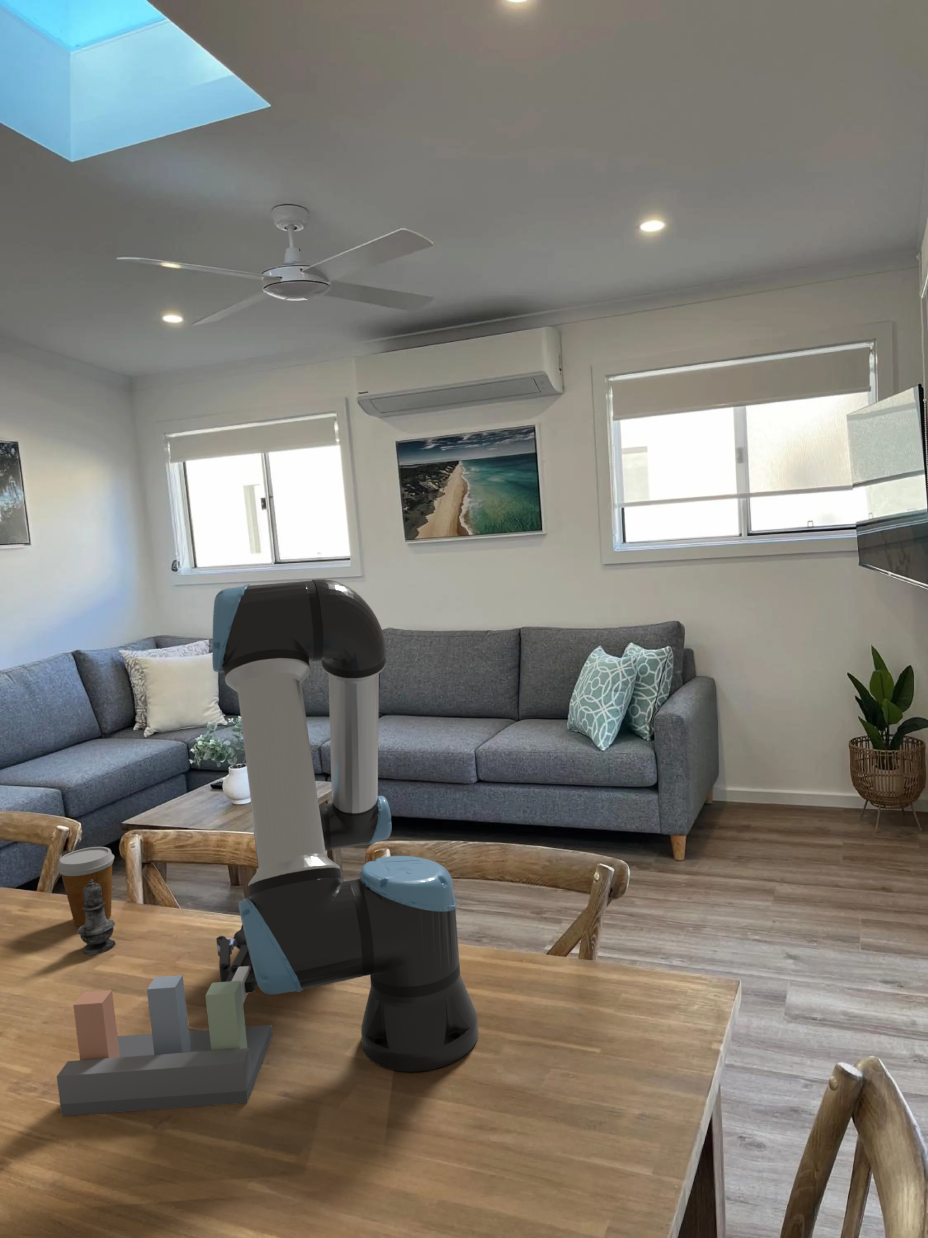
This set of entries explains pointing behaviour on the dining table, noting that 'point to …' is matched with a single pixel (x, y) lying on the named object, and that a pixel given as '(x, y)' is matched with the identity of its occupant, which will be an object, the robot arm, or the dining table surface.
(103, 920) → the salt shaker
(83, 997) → the salmon pink block
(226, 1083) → the dark grey block holder
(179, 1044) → the blue-grey upright block
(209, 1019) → the green rectangular block
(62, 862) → the disposable coffee cup
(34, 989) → the dining table surface
